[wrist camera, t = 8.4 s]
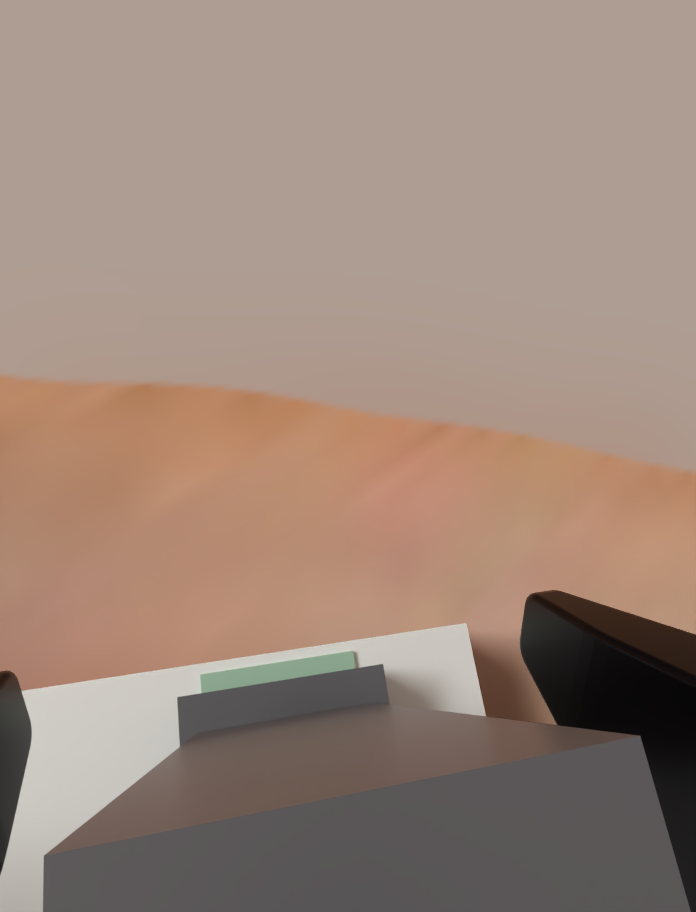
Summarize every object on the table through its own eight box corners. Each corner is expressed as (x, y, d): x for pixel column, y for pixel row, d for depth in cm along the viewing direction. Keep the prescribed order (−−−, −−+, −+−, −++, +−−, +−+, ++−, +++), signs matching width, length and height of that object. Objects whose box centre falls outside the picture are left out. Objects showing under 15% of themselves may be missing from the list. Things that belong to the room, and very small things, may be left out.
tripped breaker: (398, 828, 11) (864, 1281, 3) (193, 872, 10) (-69, 1673, 2) (373, 665, 12) (652, 614, 4) (183, 696, 11) (-24, 721, 3)
